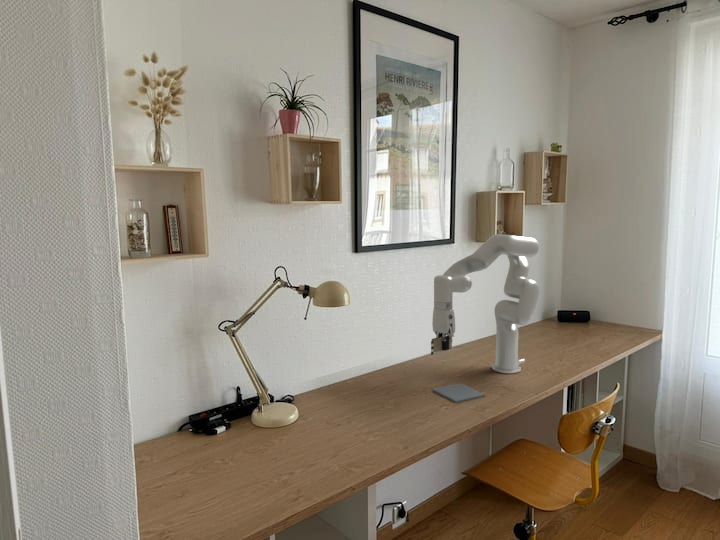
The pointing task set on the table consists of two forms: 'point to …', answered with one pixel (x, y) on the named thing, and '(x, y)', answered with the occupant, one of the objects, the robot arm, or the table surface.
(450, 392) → the mat
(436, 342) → the cuneiform tablet
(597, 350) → the table surface
